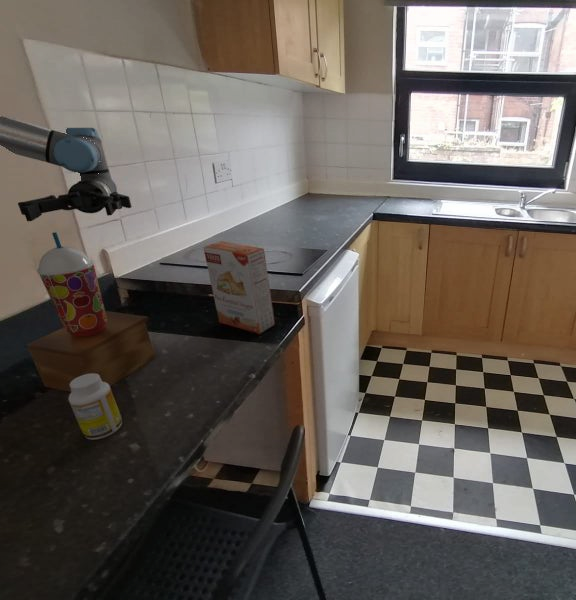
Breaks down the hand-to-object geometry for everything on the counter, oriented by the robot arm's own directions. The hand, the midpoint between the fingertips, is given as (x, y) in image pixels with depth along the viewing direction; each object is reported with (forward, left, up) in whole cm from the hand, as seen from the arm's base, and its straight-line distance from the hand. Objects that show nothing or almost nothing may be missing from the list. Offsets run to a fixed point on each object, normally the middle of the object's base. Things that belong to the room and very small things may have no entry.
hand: (68, 211), depth 83 cm
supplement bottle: (+25, -24, -31) cm, 47 cm away
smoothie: (+9, -10, -21) cm, 26 cm away
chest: (+9, -10, -31) cm, 34 cm away
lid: (+9, -10, -22) cm, 26 cm away
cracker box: (+26, +16, -31) cm, 44 cm away
